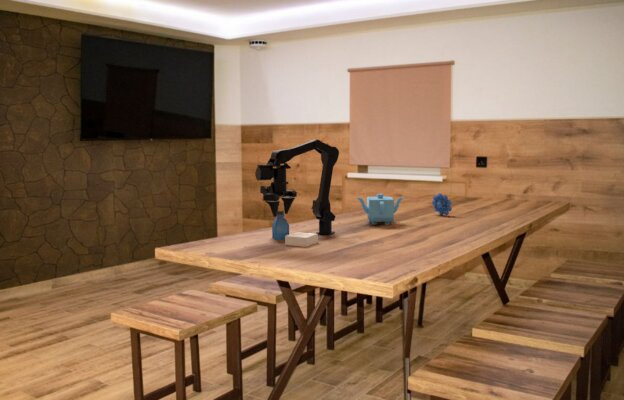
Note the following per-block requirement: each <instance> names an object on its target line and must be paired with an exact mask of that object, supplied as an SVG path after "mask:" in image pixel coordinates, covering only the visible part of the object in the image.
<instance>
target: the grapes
mask: <svg viewBox="0 0 624 400" xmlns="http://www.w3.org/2000/svg"><path fill="white" fill-rule="evenodd" d="M432 198H433V200H432V201H431V205H433V206H434V207H433V210H434V212H437V213H438V214H439V215H440V216H443V215H445V216H448V215H449V213H450V212H451V211H452V210H453V207H452V204H453V202H452V201H451V200H449V197H448V196H447V195H445V194H442V193H440V192H439V193H437V195H436V194H435V195H434V196H433V197H432Z"/></svg>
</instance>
